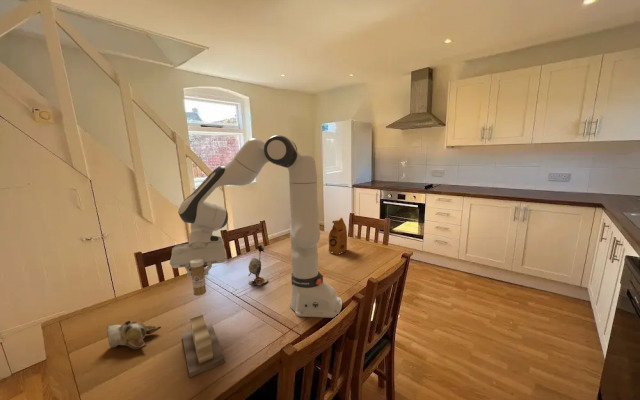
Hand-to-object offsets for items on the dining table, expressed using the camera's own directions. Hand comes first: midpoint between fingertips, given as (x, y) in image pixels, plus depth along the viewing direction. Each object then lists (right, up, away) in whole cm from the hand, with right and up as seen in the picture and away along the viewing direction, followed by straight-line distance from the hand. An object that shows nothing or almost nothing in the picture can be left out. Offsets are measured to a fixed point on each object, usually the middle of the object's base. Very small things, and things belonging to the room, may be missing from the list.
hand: (197, 275), depth 97 cm
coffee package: (+59, -6, +73) cm, 94 cm away
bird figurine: (+14, -13, +34) cm, 39 cm away
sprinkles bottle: (0, -8, +2) cm, 8 cm away
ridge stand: (+7, -21, -11) cm, 25 cm away
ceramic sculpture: (-19, -22, -8) cm, 30 cm away
